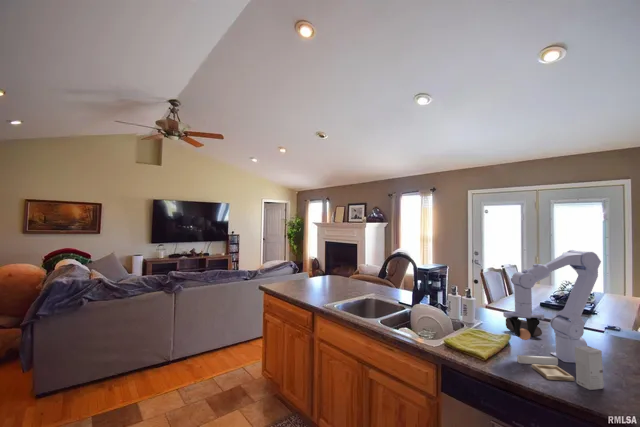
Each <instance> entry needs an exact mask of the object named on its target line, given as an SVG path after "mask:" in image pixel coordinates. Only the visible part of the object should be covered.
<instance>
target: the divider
mask: <svg viewBox="0 0 640 427" xmlns="http://www.w3.org/2000/svg"><path fill="white" fill-rule="evenodd" d="M516 359H517V363H518V364H527V365H528V364H530V365H532V364H539V365H556V366H559V358H557V357H555V356H541V355H540V356H538V355H525V354H524V355H523V354H522V355H521V354H520V355H519V354H517V357H516Z"/></svg>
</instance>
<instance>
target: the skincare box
mask: <svg viewBox="0 0 640 427" xmlns="http://www.w3.org/2000/svg"><path fill="white" fill-rule="evenodd" d="M602 352H603V351H602V350H601V349H597V348H596V347H592V346H589V345H587V346H580V347H575V359H576V363H575V375H576V376H575V377H576V378H575V380H576V384H577V385H578V386H580V387H582V388H585V389H587V390H588V391H592V390H601V389H604V371H603V356H602V355H603V353H602Z"/></svg>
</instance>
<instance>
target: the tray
mask: <svg viewBox="0 0 640 427" xmlns="http://www.w3.org/2000/svg"><path fill="white" fill-rule="evenodd" d="M531 368H532V369H533V370H535V371H536V372H538V374H540V375H541V376H543V378H545V379H546V380H552V381H567V382H568V381H569V382H575V380H576V378H575V377H574V376H573V375H572V374H570V373H568V372H567V371H565V370H564V369H562V368H560V367H559V365H545V364H531Z"/></svg>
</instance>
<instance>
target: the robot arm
mask: <svg viewBox="0 0 640 427" xmlns="http://www.w3.org/2000/svg"><path fill="white" fill-rule="evenodd" d="M601 262H602V261H601V259H600V257H599V256H598V254H597V253H595V252H594V251H581V250H574V249H569V250H568V251H566V252H563V253H562V254H561V255H559V256H557V257H555V258H554V259H552V260H550V261H547V263H544V264H541V263H534V264H532V266H531V267H529V268H527V269H522V271H521V272H520V271H517V272H514V273H513V275H512V276H511V278H510V282H511V284H513V288H514V292H513V293H514V311H503V317H504V318H505V319H506V318H509V320H510V322H511V324H512V326H513V328H514V331H513V332H514V335H515V336H516V337H518V338H519V337H520V325H521V321H520V320H521V319H525V321H527V326H528V331H529V332H530V335H531V337H530V338H534V336H533V335H534V332H535V329H536V327H537V326H538V327H539V324H540V320H545V314H543V313H542V312H539V313H538V312H533V302H532V300H533V299H532V298H533V297H532V288H533V287H534V286H535V285H536V283H538V282H541V281H542V280H544V279H546V278H548V277H549V276H550V274H551V273H552V272H554V271H556V270H559V269H562V268H564V267H566V266H569V267H571V269H573V270H574V271H575V272H576V274H577V278H576V280H575V282H574V284H573V287H572V289H571V292H570V293H569V296H568V297H567V300H566V303H565V306H564V307H563V309H561V310H559V311H557V312H556V313H555V315H554V316H553V317H552V318H551V320H550V323H549V324H550V327H551V328H552V330H554V336H555V337H554V339H555V351H554V352H550V354H551V355H552V356H553V357H556V358H558V360H560V361H562V362H564V363H573V364H574V363H575V364H576V359H575V347H580V346H588V343H587V341H586V340H585V338H583V335H584V333H585V330H584V327H585V321H584V320H583V318H582V314H583V312H584V309H585V307H586V305H587V304H588V300H589V298H590V297H591V296H590V295H591V293H592V291H593V290H594V287H595V284H596V282H597V280H598V277H599V267H600V266H601ZM519 319H520V320H519Z"/></svg>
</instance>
